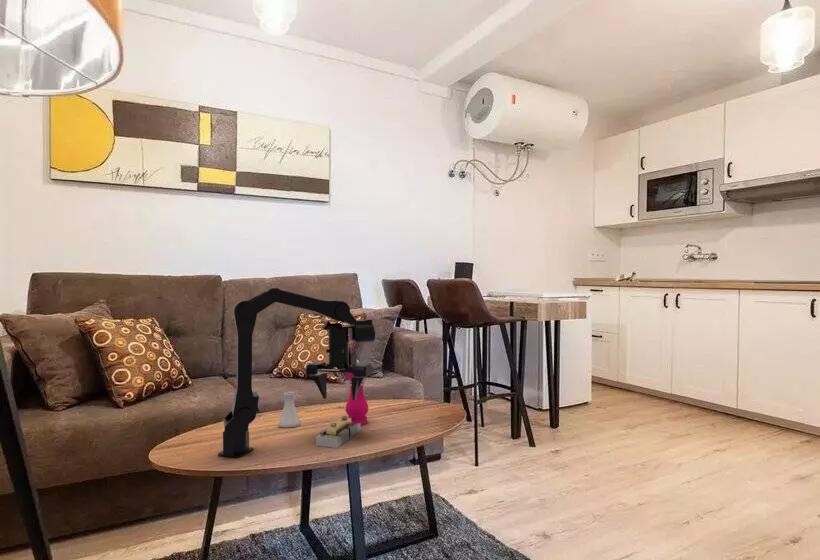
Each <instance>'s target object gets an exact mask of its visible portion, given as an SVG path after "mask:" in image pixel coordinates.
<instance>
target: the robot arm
mask: <svg viewBox="0 0 820 560" xmlns="http://www.w3.org/2000/svg"><path fill="white" fill-rule="evenodd" d="M275 303H277V304H282V305H286V306H289V307H295V308H298V309H303V310H307V311H311V312H314V313H316V314H318V315H321V316H323V317H325V318H327V319H329V320H332V321H336V322H334V323H333V322H332V323H331V322H330V321H329V320H326V321H325V322H324V323H323V324H322V325H321V327H320V329H321V330H324V331H327V332H328V333H327V337H328V340H327V341H328V348H327V349H326V353H327V354H328V363H326V362H325V361H323V362H322V361H313V362H311V363H308V364H307V365H306V367H305V375H309V378H310V379H312V380H313V381H314V383H315V384H316V386H317V388H318V390H319V393H320V394H321V396H322V399H324V400H326V399H327V396H328V395H327V394H328V392H327V389H328V388H327V377H328V373H344V374H345V373H346V374H347V373H352V374H353V375H354V377H352V378H351V379H352V397H353V401H355V400H356V397H357V394H358V391H359V388H360V385H361V383H362V381H363V379H364V380H365V379H366V378H367V377H369V376H370V375H373V373H374V370H373V369H374V368H373V365H372V364H371V363H365V362H364V363H360V362H359V364H357V360H358V354H356V353H353V352H352V348H351V347H350V346H349V341H352V343H353V344H367V343H374V342H375V339H376V330H375V327H374V324H373V320H372V319H369V318H368V319H367V318H366V319H362V320H359V319H358V320H357V319H356V318H355V316H354V315H353V314H352V313H351V309H350V306H349V304H348V302H345V301H343V300H334V299H333V300H332V299H318V298H315V297H312V296H307V295H303V294H300V293H299V294H298V293H295V292H292V291H288V290H287V291H286V290H284V289H280V288H278V287H274V286H273V287H270V288H267V290H265V291H264V292H262V293H260V294H258V295H256V296H253V297H252V298H250V299H249V300H246V299H245V300H243V299H241V300H240V301H237V302H236V303H235V304H234V306H233V308H232V316H233V321H234V325H235V331H236V388H235V391H234V394H233V400H232V406H231V410H230V411H229V413H227V415H225V417H224V418H223V425H224V426H223V427H224V430H223V432H222V451H220V452H218V453H217V456H219V457H220V456H221V457H228V458H241V457H243V456H245V455H247V454H248V453H250V452H252V451H254V447H252V446H250V431H249V426H250V424H252V422H254V421H255V419H256V418H257V413H260V410H259V406H258V405H259V399H260V396H259V393H257V391H254V392H253V388H252V384H253V383H252V381H253V375H252V374H253V366H252V365H253V334H254V331H255V330H254V329H255V326H256V321H257V318H258V317H257V316H258V314H259V313H261V312H262V311H264V310H265V309H267V308H268V307H270V306H271V305H273V304H275ZM340 322H341V323H340ZM343 324H347V325H343ZM356 364H357V365H356ZM351 365H352V366H351Z"/></svg>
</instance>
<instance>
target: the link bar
mask: <svg viewBox="0 0 820 560" xmlns="http://www.w3.org/2000/svg"><path fill="white" fill-rule="evenodd" d="M348 417H349V416H348V415H342V416H341V417H340V418H338V419H337V420H335V421H332V422H330V424H328V425H326V427H325V429H326V435H333V436H338V433H340V432H341V431H343V430H344V429H345V428H347V427H348V426H350V425H351V418H348Z"/></svg>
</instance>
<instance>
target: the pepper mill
mask: <svg viewBox="0 0 820 560" xmlns="http://www.w3.org/2000/svg"><path fill="white" fill-rule="evenodd" d="M359 363H360V361H359V359H357V364H359ZM357 364H356V365H357ZM350 366H352V365H350ZM346 376H347V378H348V379H349V380H348V385H349V388H350V391H349V397H348V399H347V401H346V403H345V414H346V415H347V417H348V418H351V422H361V426H363V425H366V424H367V423H368V417H367V413H368V412H369V404H368V401H367V400H366V397H365V395H364V394H365V393H364V385H365V384H366V383H365V378H364V379H363V381H362V383H361V385H360V388H359V391H358V394H357V397H356V400H355V401H353V397H352V379H351V378H352V377H354V375H353V374H352V373H346Z"/></svg>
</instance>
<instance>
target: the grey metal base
mask: <svg viewBox="0 0 820 560" xmlns="http://www.w3.org/2000/svg"><path fill="white" fill-rule="evenodd" d="M361 427H362V425H361V422H351V425H350V426H348V427H347V428H345V429H344V430H343V431H341V432H340V433H338V436H333V435H326V428H325V429H322V430H321V431H320V432H319V434H318V435H317V436H316V437H315V447H321V446H322V448H334V449H338V448H339V447H341V446H342V445H343V444H344V443H346V442H348V441H349V440H350V439H352V438H353V437H354V436H355V435H357V434H358V433H360V432H361V431H362V430H361V429H362V428H361Z"/></svg>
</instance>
